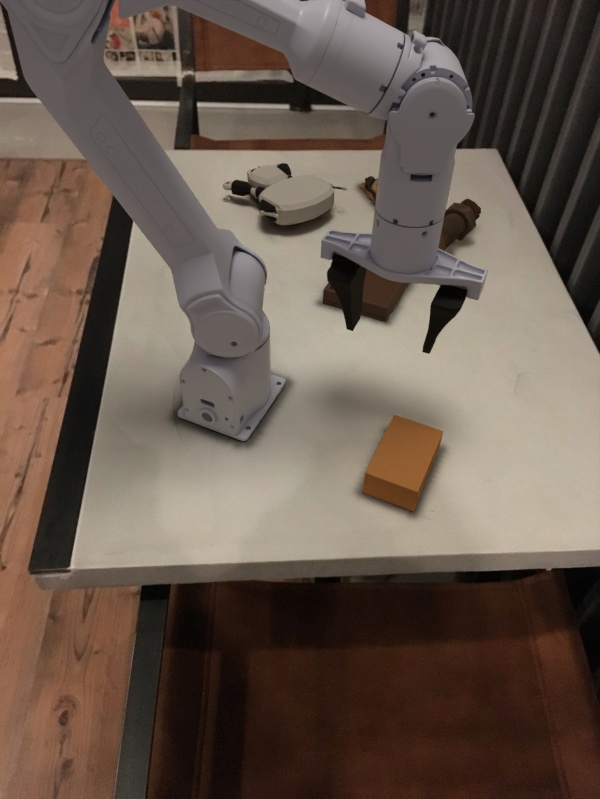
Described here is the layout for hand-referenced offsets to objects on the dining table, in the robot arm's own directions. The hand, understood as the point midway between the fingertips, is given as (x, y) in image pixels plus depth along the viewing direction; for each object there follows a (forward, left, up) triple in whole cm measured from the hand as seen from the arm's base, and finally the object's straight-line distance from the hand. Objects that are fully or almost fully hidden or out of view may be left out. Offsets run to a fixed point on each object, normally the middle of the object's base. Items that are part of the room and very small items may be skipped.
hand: (390, 335), depth 66 cm
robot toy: (+30, +26, -9) cm, 41 cm away
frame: (+18, +8, -9) cm, 22 cm away
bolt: (+30, +2, -9) cm, 32 cm away
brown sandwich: (+40, +12, -9) cm, 43 cm away
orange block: (-8, -5, -9) cm, 13 cm away
